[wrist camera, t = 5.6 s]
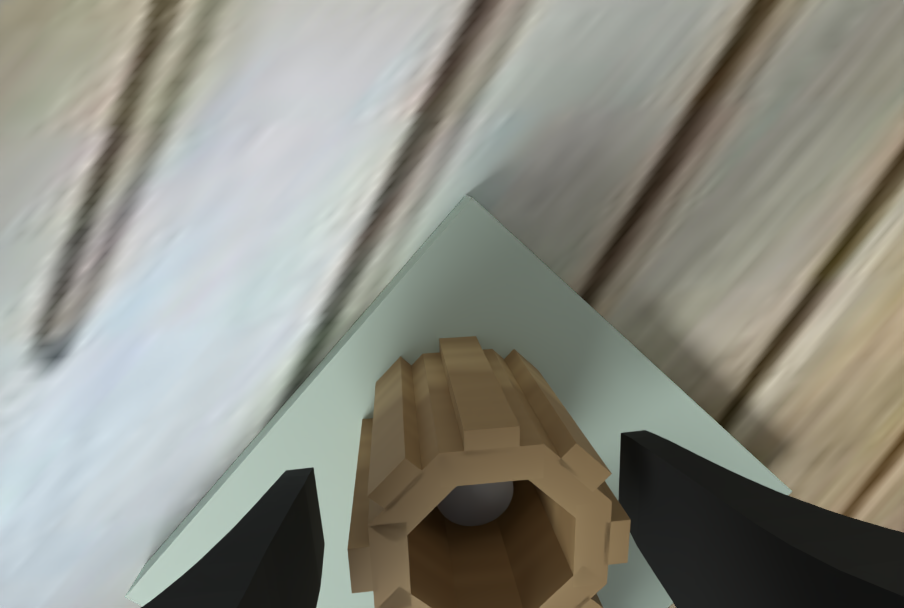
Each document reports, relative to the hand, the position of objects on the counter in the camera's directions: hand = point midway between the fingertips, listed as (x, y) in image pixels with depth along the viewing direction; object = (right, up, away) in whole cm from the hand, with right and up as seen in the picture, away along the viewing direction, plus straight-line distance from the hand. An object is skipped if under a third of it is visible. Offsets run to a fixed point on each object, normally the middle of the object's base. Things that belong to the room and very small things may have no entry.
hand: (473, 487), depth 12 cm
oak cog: (0, +1, +3) cm, 3 cm away
